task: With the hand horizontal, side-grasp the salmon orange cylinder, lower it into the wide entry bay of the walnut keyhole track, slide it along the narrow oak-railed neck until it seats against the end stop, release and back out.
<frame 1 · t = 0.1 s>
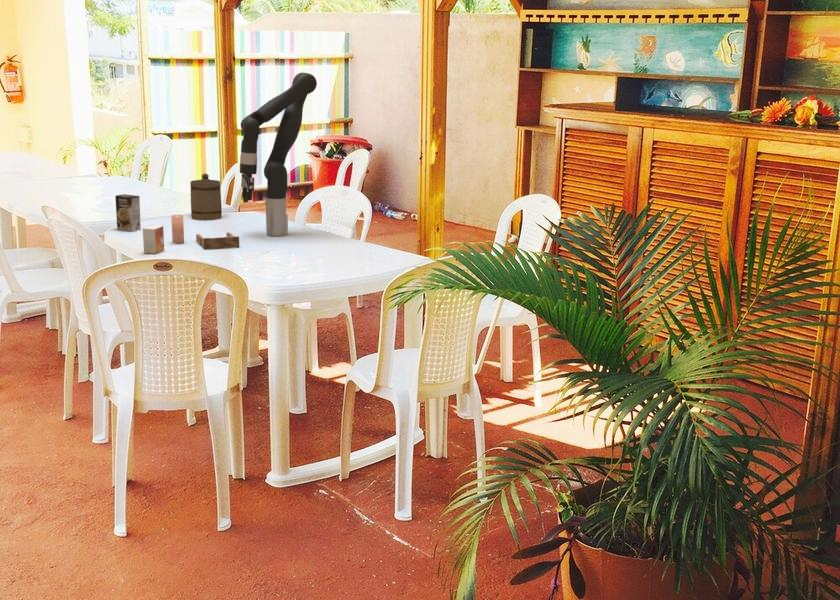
hand: (247, 198, 427), 17 cm above the table, tool pointing down, fingers open, 8 cm apart
small box: (154, 252, 397), on the table
wooden container: (206, 218, 474), on the table
keyhole track: (217, 244, 414), on the table
salmon orange cylinder: (178, 242, 415), on the table
coffee box: (129, 230, 440), on the table
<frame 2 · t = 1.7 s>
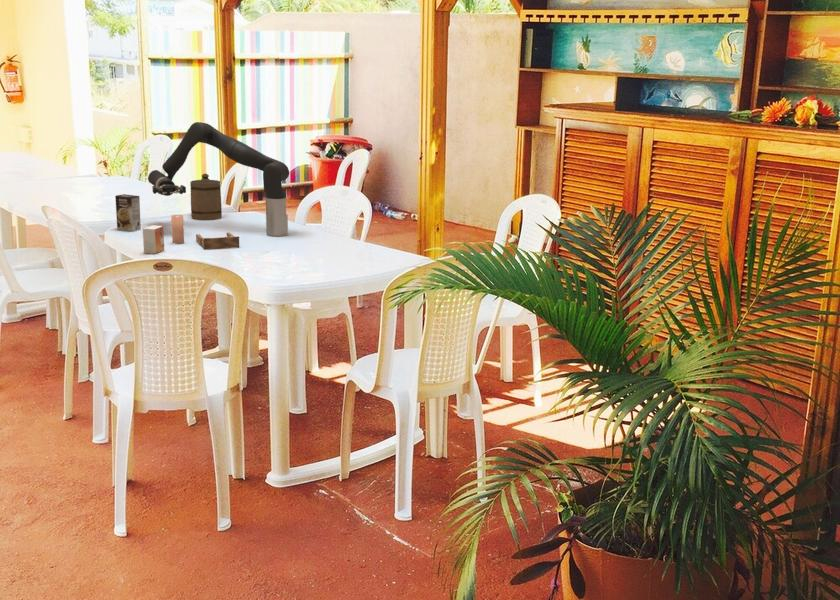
hand: (171, 192, 419), 21 cm above the table, tool horizontal, fingers open, 8 cm apart
nothing on the table moved.
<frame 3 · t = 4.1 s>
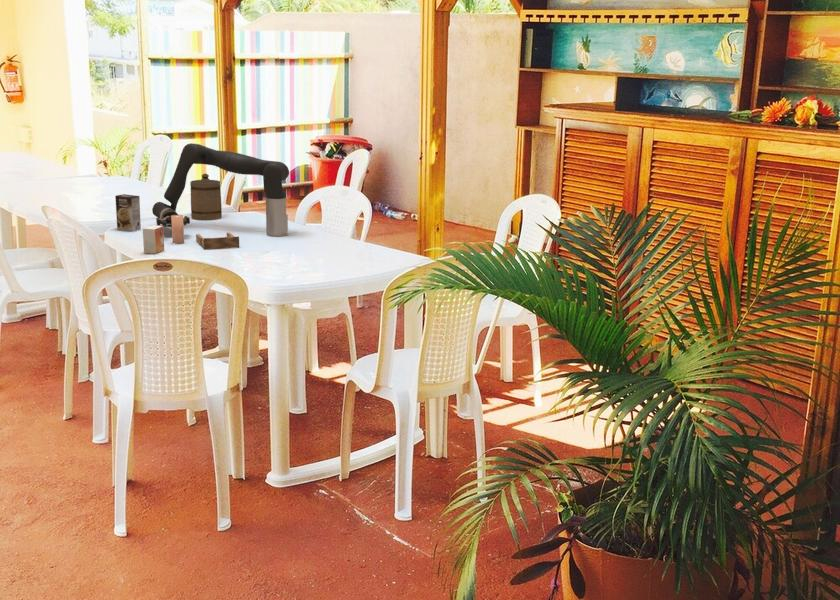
hand: (175, 223, 418), 7 cm above the table, tool horizontal, fingers open, 8 cm apart
nothing on the table moved.
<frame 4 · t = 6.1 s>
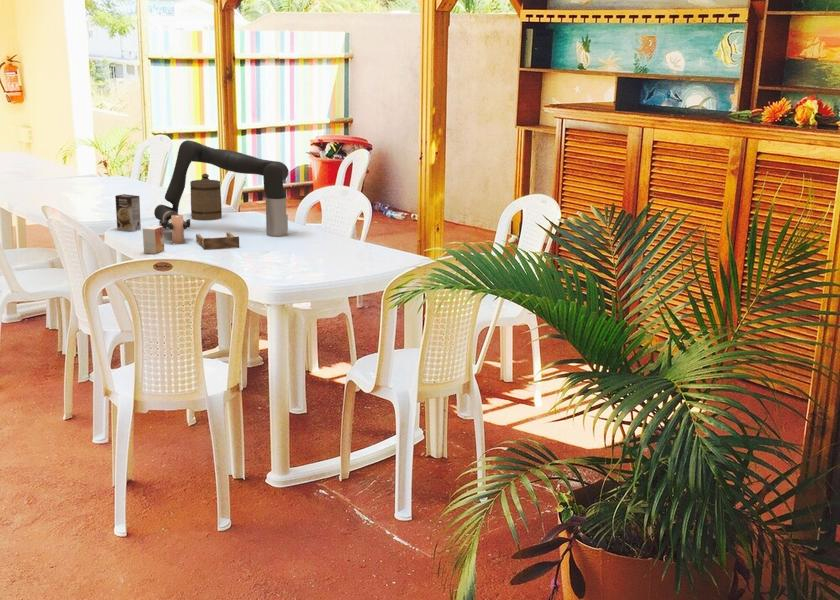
hand: (178, 227, 411), 8 cm above the table, tool horizontal, fingers closed on salmon orange cylinder, 5 cm apart
salmon orange cylinder: (178, 242, 415), on the table, touching gripper
everything else where it was.
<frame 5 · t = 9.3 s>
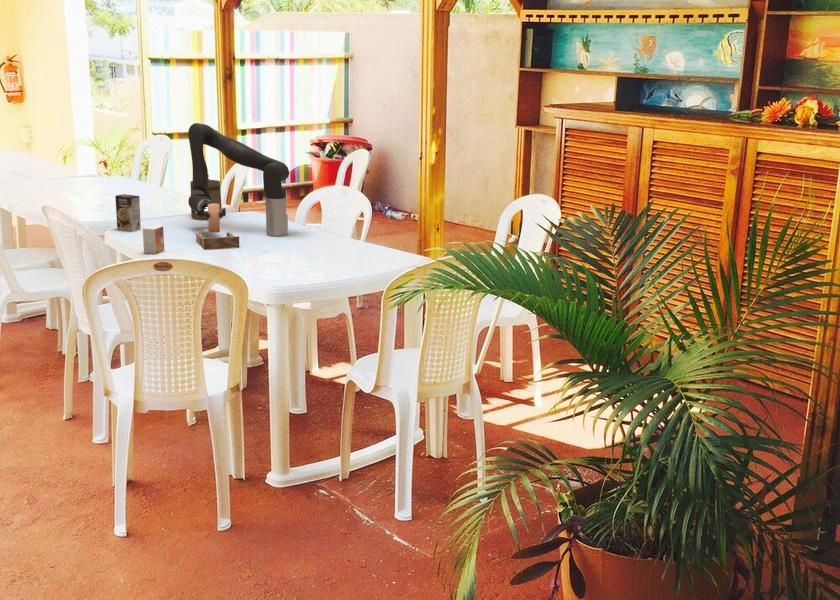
hand: (215, 215, 413), 12 cm above the table, tool horizontal, fingers closed on salmon orange cylinder, 5 cm apart
salmon orange cylinder: (214, 231, 417), point 5 cm above the table, touching gripper
everything else where it was.
when the fingers open (9 cm above the table, at t = 12.5 s): salmon orange cylinder stays where it is, resting on keyhole track.
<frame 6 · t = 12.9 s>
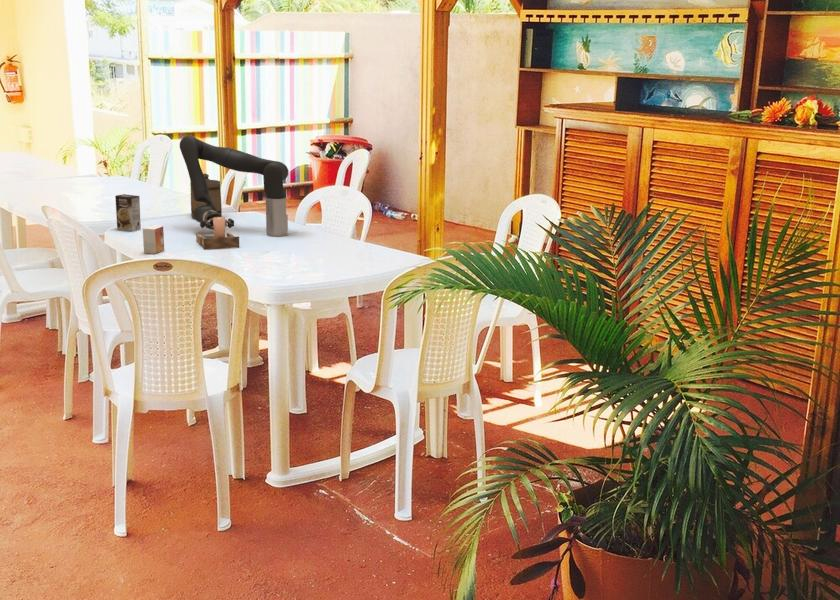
hand: (220, 226, 406), 9 cm above the table, tool horizontal, fingers open, 8 cm apart
salmon orange cylinder: (219, 245, 410), point 1 cm above the table, touching keyhole track
everything else where it was.
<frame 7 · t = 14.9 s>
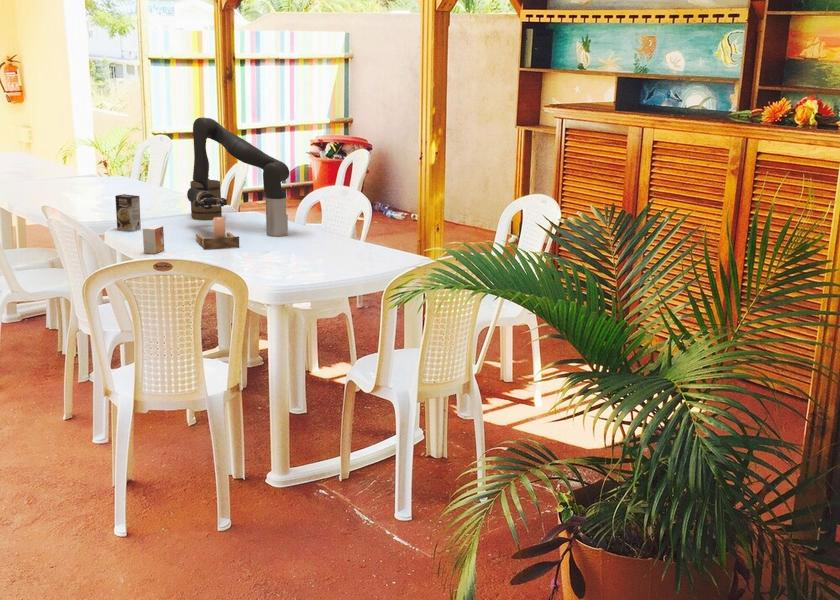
hand: (213, 204, 417), 16 cm above the table, tool horizontal, fingers open, 8 cm apart
nothing on the table moved.
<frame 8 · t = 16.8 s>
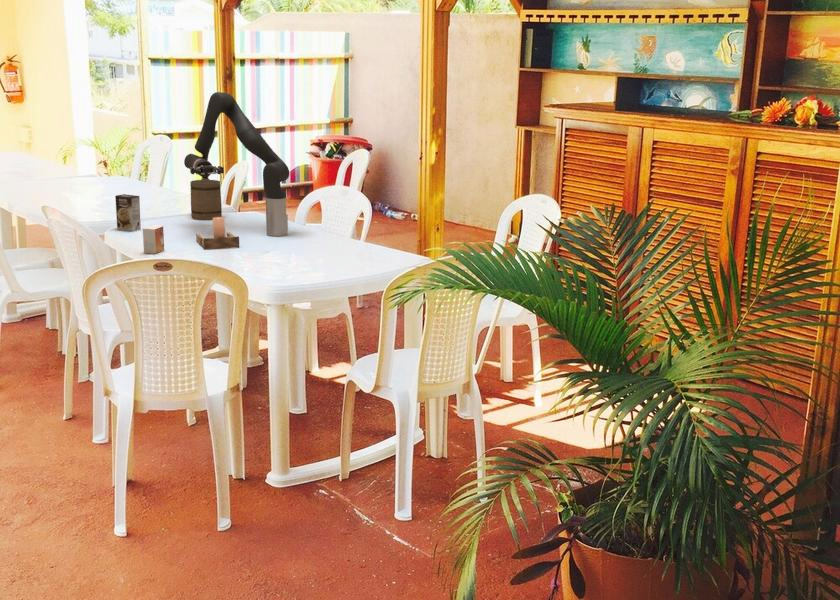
hand: (210, 172, 416), 30 cm above the table, tool horizontal, fingers open, 8 cm apart
nothing on the table moved.
at the end: salmon orange cylinder 0.0 cm from the target spot on the keyhole track, point 0.6 cm above the keyhole track's base; salmon orange cylinder tilted 1°; the gripper is holding nothing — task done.
